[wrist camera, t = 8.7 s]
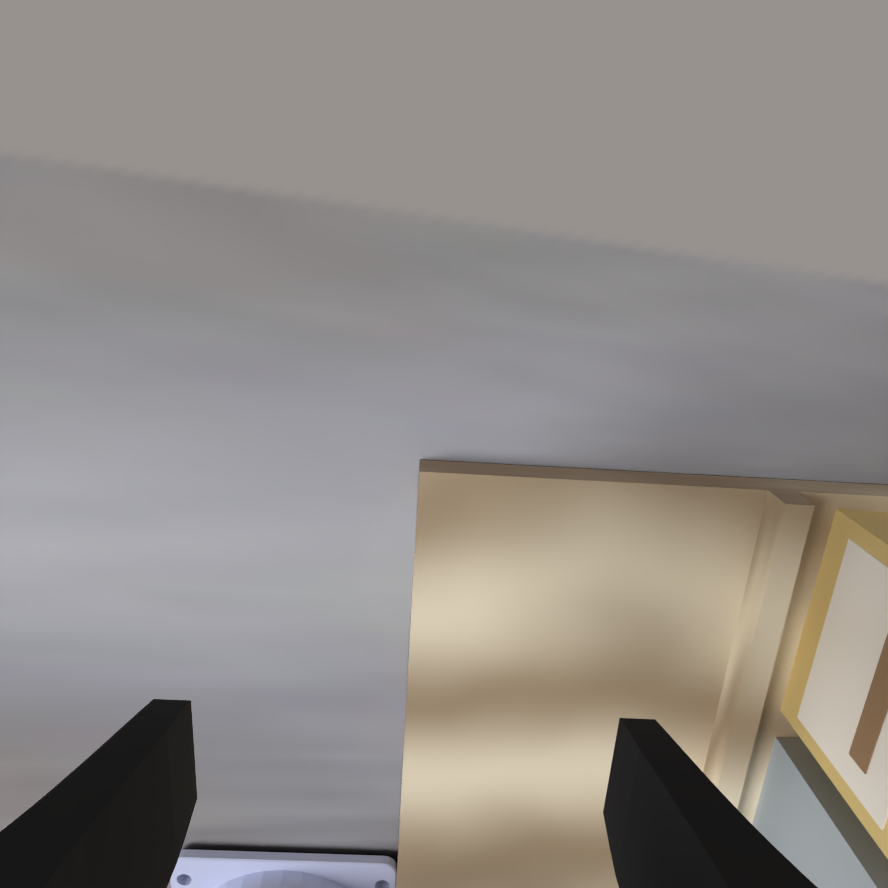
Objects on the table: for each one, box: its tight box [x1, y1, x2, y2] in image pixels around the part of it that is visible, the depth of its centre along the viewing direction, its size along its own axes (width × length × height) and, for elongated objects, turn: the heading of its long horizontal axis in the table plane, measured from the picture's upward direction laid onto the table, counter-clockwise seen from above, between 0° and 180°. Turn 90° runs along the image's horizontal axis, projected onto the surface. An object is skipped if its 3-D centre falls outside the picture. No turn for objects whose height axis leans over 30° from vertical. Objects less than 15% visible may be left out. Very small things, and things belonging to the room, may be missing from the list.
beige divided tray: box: [396, 460, 888, 888], centre depth 21 cm, size 16×18×2 cm
